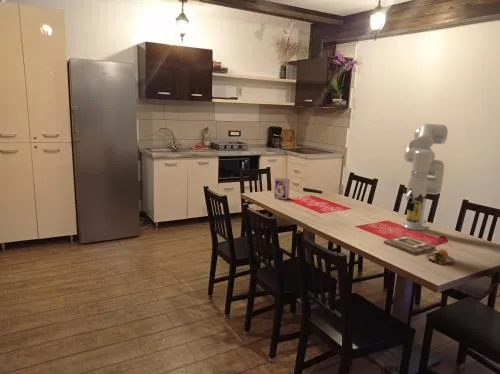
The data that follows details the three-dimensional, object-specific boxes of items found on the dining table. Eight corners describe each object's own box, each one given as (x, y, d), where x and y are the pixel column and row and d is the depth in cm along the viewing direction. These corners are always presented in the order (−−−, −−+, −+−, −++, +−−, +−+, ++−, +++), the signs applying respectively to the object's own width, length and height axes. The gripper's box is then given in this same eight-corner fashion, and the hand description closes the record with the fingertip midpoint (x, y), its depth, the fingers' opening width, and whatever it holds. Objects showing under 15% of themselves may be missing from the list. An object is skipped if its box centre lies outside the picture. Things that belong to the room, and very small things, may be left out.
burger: (442, 255, 190) (445, 241, 188) (459, 265, 179) (461, 250, 177) (420, 256, 188) (423, 241, 186) (435, 266, 177) (438, 250, 175)
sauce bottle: (403, 221, 197) (408, 183, 193) (409, 219, 202) (414, 182, 198) (416, 224, 193) (422, 185, 189) (421, 222, 197) (426, 184, 193)
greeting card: (273, 197, 293) (274, 178, 290) (278, 196, 299) (279, 177, 296) (285, 200, 286) (287, 180, 283) (290, 198, 292) (292, 179, 289)
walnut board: (405, 238, 212) (405, 234, 212) (435, 249, 198) (435, 244, 197) (383, 243, 203) (384, 238, 202) (413, 255, 188) (414, 250, 188)
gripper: (422, 173, 200) (418, 206, 204) (401, 174, 191) (397, 209, 195) (436, 175, 194) (431, 209, 197) (415, 177, 185) (410, 213, 188)
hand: (414, 209), depth 196 cm, fingers closed on sauce bottle, 6 cm apart
